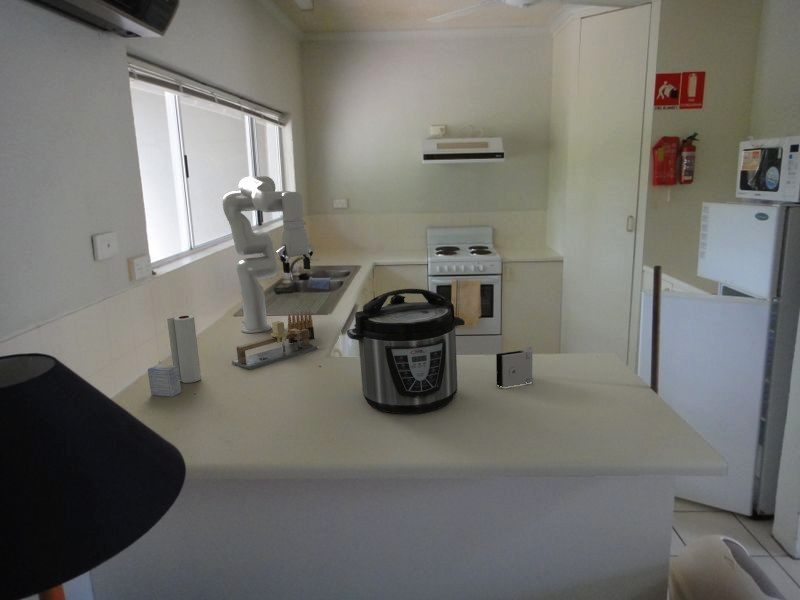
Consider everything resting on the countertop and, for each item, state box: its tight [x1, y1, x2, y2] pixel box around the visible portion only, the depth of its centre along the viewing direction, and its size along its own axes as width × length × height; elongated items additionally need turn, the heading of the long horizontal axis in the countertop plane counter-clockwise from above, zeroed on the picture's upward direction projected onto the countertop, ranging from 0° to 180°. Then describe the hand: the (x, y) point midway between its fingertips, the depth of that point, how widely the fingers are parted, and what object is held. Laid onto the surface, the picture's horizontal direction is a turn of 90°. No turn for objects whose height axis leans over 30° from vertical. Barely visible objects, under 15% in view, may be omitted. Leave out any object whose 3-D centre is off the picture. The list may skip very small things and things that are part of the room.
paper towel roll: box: [166, 314, 202, 384], centre depth 185 cm, size 7×6×21 cm
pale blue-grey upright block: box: [147, 364, 182, 398], centre depth 175 cm, size 8×4×9 cm, turn 71°
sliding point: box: [270, 320, 288, 352], centre depth 210 cm, size 5×4×11 cm
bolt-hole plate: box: [231, 341, 319, 371], centre depth 210 cm, size 11×30×1 cm, turn 137°
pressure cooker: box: [346, 288, 466, 414], centre depth 159 cm, size 30×28×32 cm
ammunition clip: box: [287, 309, 316, 344], centre depth 229 cm, size 11×2×12 cm, turn 124°
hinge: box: [495, 345, 533, 388], centre depth 170 cm, size 14×5×10 cm, turn 120°
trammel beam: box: [236, 329, 310, 364], centre depth 209 cm, size 4×30×7 cm, turn 138°
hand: (297, 271), depth 216 cm, fingers open, 9 cm apart
